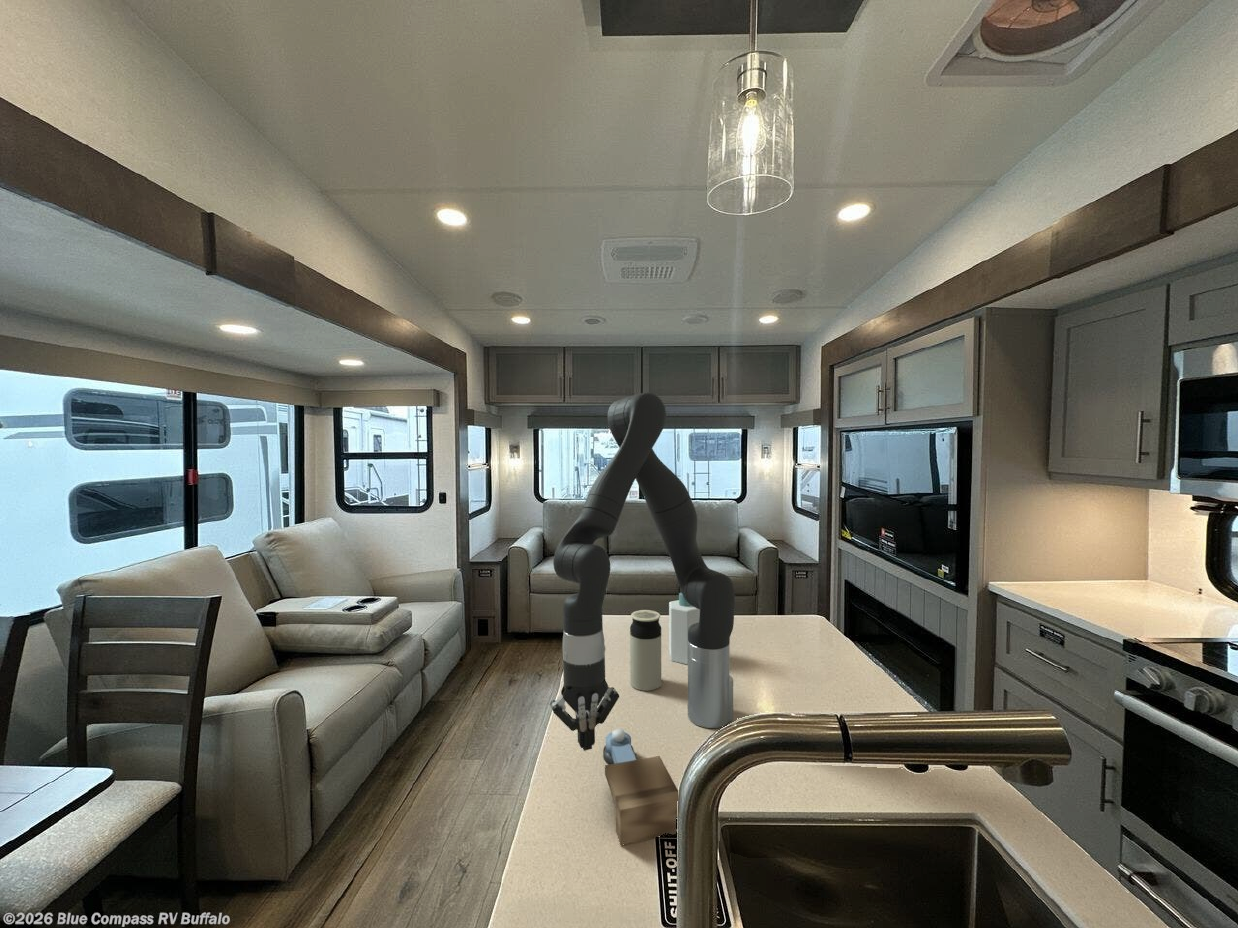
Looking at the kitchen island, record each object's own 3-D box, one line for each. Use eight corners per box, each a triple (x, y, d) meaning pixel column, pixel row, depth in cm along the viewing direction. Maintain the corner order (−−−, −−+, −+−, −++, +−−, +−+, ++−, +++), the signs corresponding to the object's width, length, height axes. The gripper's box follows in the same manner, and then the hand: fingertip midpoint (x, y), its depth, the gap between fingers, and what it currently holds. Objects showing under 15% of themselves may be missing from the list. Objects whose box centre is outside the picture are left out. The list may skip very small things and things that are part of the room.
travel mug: (659, 693, 117) (659, 621, 116) (627, 690, 119) (627, 618, 118) (662, 677, 125) (662, 610, 124) (633, 675, 126) (633, 608, 126)
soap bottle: (704, 665, 132) (704, 586, 131) (671, 664, 132) (671, 586, 132) (698, 649, 142) (699, 577, 142) (668, 649, 143) (668, 576, 142)
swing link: (603, 742, 95) (603, 727, 95) (627, 739, 96) (627, 723, 96) (622, 801, 79) (622, 782, 79) (651, 796, 80) (651, 777, 80)
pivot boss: (628, 744, 97) (628, 738, 97) (637, 763, 91) (637, 757, 91) (600, 749, 95) (600, 743, 95) (607, 768, 89) (607, 762, 89)
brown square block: (659, 786, 85) (659, 755, 84) (681, 832, 74) (681, 797, 74) (605, 796, 82) (604, 765, 82) (620, 845, 72) (620, 809, 72)
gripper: (611, 639, 91) (613, 727, 92) (543, 651, 86) (545, 744, 87) (625, 655, 84) (628, 750, 85) (552, 669, 79) (555, 770, 80)
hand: (586, 747), depth 86 cm, fingers closed
